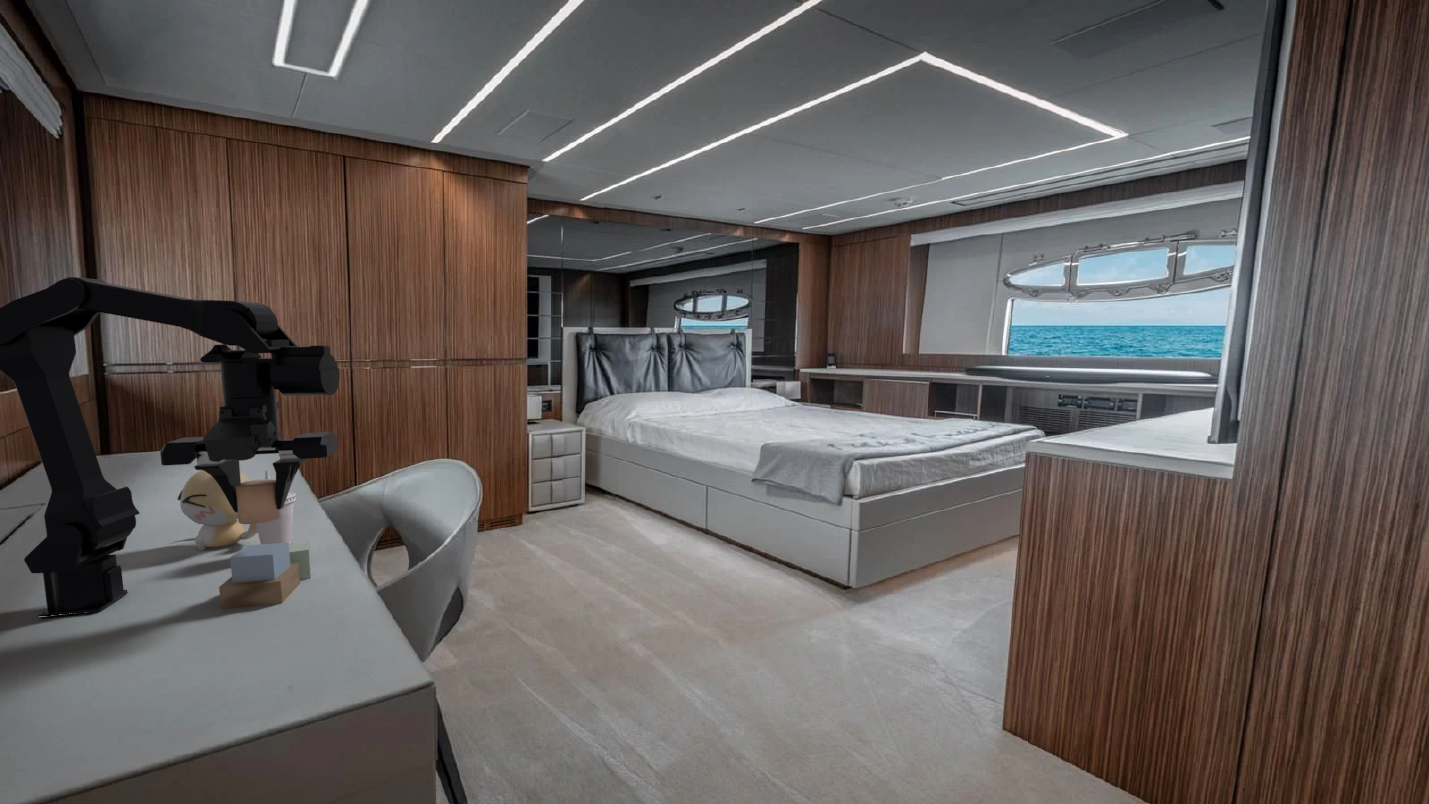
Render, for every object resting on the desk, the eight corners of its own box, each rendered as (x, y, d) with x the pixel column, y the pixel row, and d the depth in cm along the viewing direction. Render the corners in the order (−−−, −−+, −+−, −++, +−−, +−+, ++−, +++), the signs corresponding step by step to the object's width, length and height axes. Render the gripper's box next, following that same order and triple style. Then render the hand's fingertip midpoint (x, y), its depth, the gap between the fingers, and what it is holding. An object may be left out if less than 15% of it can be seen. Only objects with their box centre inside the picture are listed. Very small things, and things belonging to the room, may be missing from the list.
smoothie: (244, 557, 103) (236, 472, 101) (283, 544, 109) (277, 464, 107) (270, 562, 100) (263, 475, 99) (309, 549, 106) (303, 467, 105)
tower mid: (232, 582, 84) (230, 557, 84) (250, 569, 89) (248, 545, 89) (274, 579, 85) (272, 554, 85) (290, 566, 90) (288, 542, 90)
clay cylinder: (232, 525, 84) (229, 488, 83) (247, 515, 88) (244, 480, 87) (272, 522, 85) (269, 486, 84) (285, 513, 89) (282, 478, 89)
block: (273, 585, 92) (271, 555, 91) (276, 575, 95) (273, 546, 95) (310, 578, 94) (308, 549, 93) (311, 569, 98) (309, 541, 97)
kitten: (174, 542, 110) (165, 457, 108) (243, 528, 118) (236, 449, 116) (194, 562, 100) (185, 469, 99) (269, 546, 108) (262, 459, 106)
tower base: (221, 612, 83) (219, 587, 83) (243, 591, 90) (241, 568, 90) (282, 606, 85) (280, 581, 85) (300, 586, 92) (298, 562, 92)
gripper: (128, 405, 74) (141, 534, 76) (309, 400, 79) (318, 521, 81) (178, 396, 85) (189, 509, 87) (335, 392, 90) (342, 499, 92)
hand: (259, 510), depth 86 cm, fingers closed on clay cylinder, 5 cm apart
